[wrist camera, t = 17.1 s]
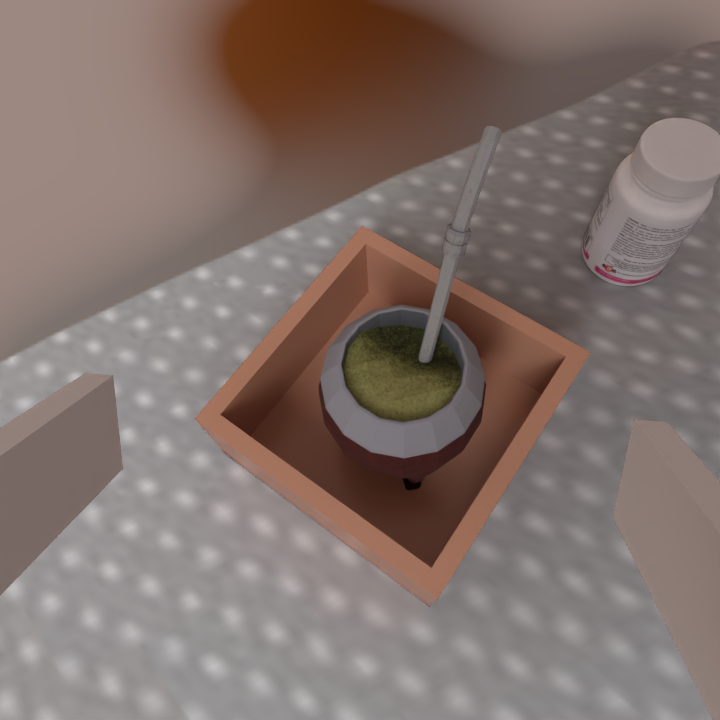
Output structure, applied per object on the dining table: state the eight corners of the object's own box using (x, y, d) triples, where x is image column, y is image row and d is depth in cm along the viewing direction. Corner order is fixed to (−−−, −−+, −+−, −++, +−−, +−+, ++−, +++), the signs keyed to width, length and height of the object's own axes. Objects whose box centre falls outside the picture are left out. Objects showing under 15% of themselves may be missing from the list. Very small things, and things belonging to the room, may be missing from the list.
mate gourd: (344, 512, 29) (302, 396, 15) (318, 366, 32) (264, 163, 18) (495, 481, 29) (588, 340, 15) (453, 339, 32) (499, 121, 19)
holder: (366, 284, 35) (362, 225, 30) (559, 397, 32) (590, 352, 27) (225, 454, 31) (194, 418, 26) (429, 606, 27) (437, 598, 23)
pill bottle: (680, 266, 35) (762, 161, 27) (615, 302, 34) (679, 203, 26) (627, 210, 37) (689, 97, 29) (563, 242, 36) (610, 135, 28)
